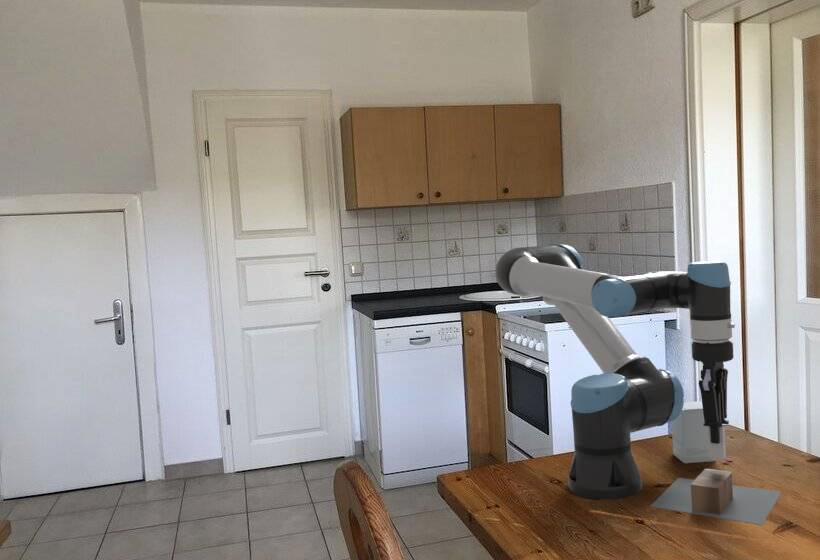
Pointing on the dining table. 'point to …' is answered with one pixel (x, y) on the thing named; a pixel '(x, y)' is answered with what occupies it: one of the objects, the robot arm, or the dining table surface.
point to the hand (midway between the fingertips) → (717, 457)
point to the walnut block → (712, 491)
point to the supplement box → (691, 434)
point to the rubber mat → (742, 507)
